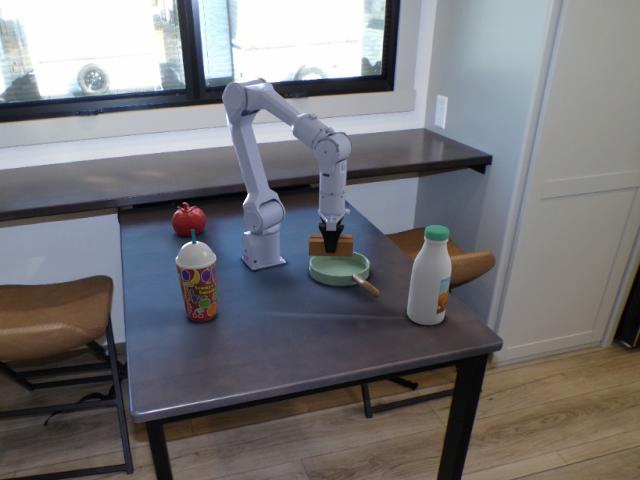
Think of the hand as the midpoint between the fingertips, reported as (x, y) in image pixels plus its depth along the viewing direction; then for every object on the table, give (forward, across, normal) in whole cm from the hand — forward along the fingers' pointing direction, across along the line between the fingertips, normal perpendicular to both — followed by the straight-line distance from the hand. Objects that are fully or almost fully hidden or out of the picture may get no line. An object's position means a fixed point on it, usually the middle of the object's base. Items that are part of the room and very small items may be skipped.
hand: (330, 247), depth 121 cm
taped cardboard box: (+1, 0, 0) cm, 1 cm away
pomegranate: (+9, +28, +42) cm, 51 cm away
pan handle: (+7, -6, -8) cm, 12 cm away
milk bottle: (+9, -14, -20) cm, 27 cm away
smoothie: (+9, -17, +27) cm, 34 cm away
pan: (+9, +4, -2) cm, 10 cm away
